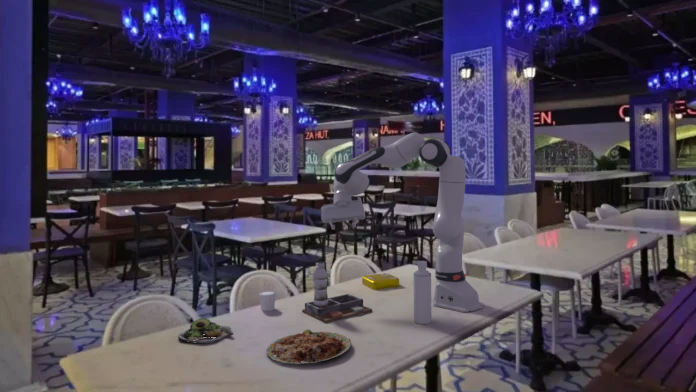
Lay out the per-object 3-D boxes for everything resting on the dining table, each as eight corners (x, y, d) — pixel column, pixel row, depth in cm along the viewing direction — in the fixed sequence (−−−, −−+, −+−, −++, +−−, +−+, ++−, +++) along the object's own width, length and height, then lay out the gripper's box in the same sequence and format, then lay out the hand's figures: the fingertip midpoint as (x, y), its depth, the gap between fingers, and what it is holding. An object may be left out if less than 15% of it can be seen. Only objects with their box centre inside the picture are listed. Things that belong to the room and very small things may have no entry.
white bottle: (410, 320, 186) (410, 256, 184) (425, 317, 188) (425, 255, 187) (419, 325, 180) (418, 259, 178) (434, 322, 182) (434, 258, 180)
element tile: (360, 284, 244) (360, 274, 244) (386, 280, 250) (386, 271, 250) (373, 291, 231) (373, 281, 230) (400, 287, 237) (400, 277, 236)
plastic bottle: (317, 314, 192) (316, 265, 191) (310, 309, 198) (309, 262, 197) (331, 311, 195) (330, 263, 194) (324, 307, 201) (323, 260, 200)
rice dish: (250, 364, 150) (249, 348, 150) (291, 331, 176) (290, 317, 176) (331, 377, 140) (330, 359, 140) (362, 340, 166) (362, 325, 165)
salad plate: (246, 331, 178) (245, 319, 178) (216, 348, 162) (215, 335, 161) (204, 325, 185) (203, 314, 185) (171, 341, 169) (170, 329, 169)
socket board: (372, 311, 197) (372, 302, 197) (325, 323, 184) (325, 313, 184) (347, 301, 212) (346, 292, 212) (302, 311, 199) (302, 302, 199)
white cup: (279, 307, 206) (278, 291, 205) (269, 312, 199) (269, 295, 199) (265, 305, 208) (265, 290, 208) (256, 310, 202) (255, 294, 202)
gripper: (319, 201, 221) (319, 226, 212) (363, 196, 219) (364, 222, 210) (322, 209, 226) (322, 233, 217) (365, 204, 224) (366, 229, 215)
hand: (343, 228), depth 214 cm, fingers open, 8 cm apart
